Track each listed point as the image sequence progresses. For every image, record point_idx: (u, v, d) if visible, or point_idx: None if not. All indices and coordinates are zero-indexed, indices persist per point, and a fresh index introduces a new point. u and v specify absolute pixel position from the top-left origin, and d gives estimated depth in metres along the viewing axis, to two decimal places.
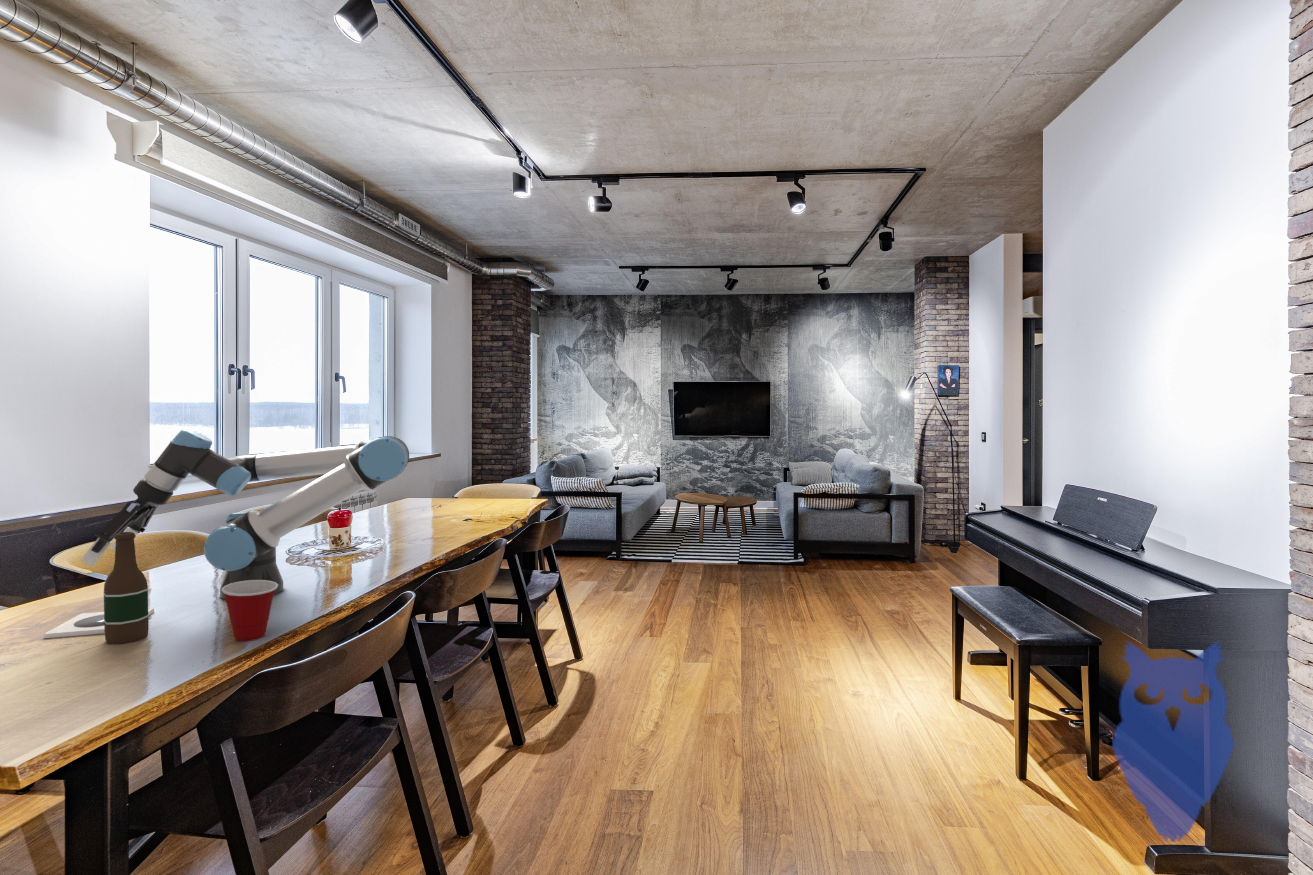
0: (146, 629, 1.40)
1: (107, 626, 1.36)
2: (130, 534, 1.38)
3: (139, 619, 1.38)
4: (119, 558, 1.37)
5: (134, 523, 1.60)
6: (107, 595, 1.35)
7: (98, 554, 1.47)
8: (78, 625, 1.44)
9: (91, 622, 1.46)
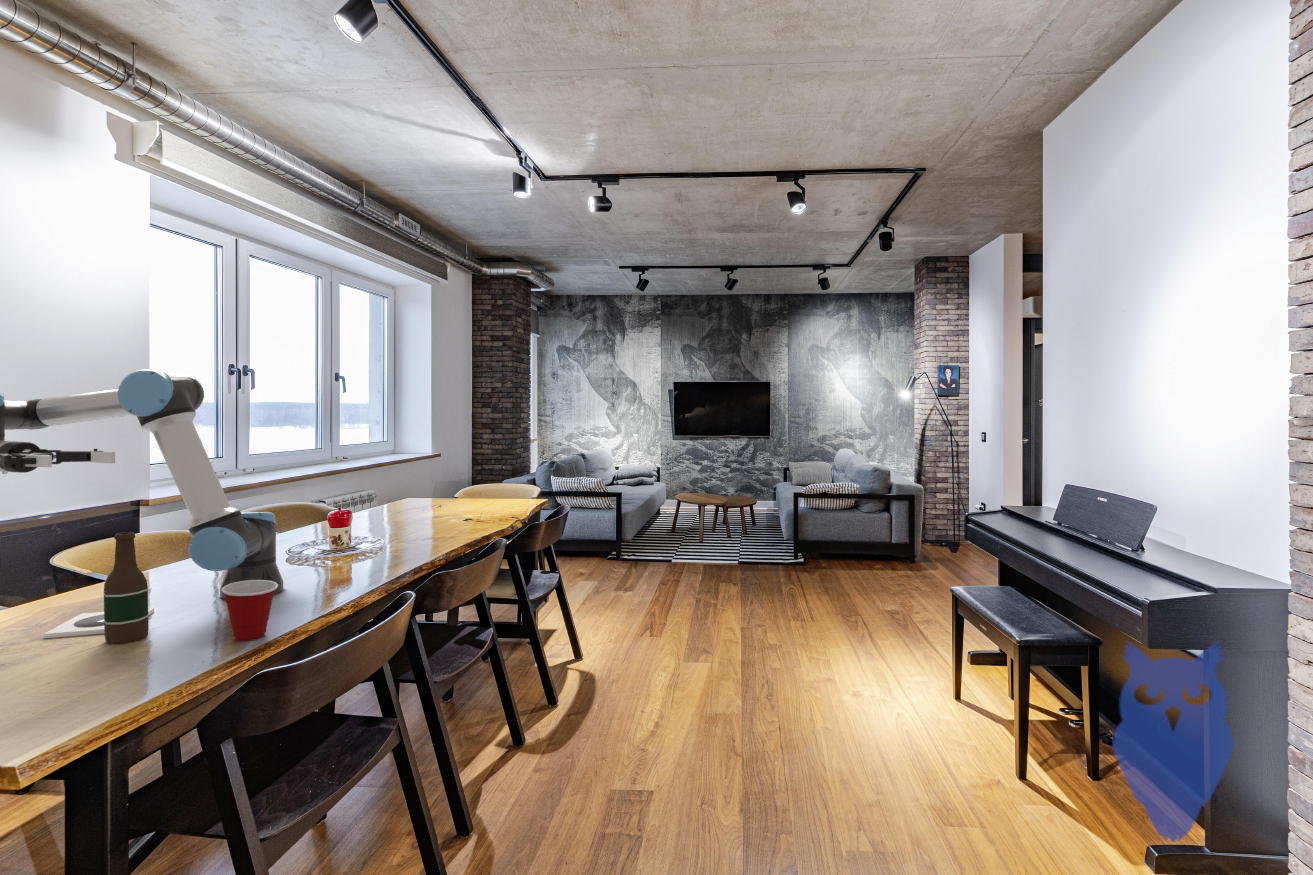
0: (146, 629, 1.40)
1: (107, 626, 1.36)
2: (130, 534, 1.38)
3: (139, 619, 1.38)
4: (119, 558, 1.37)
5: (83, 458, 1.54)
6: (107, 595, 1.35)
7: (37, 457, 1.40)
8: (78, 625, 1.44)
9: (91, 622, 1.46)
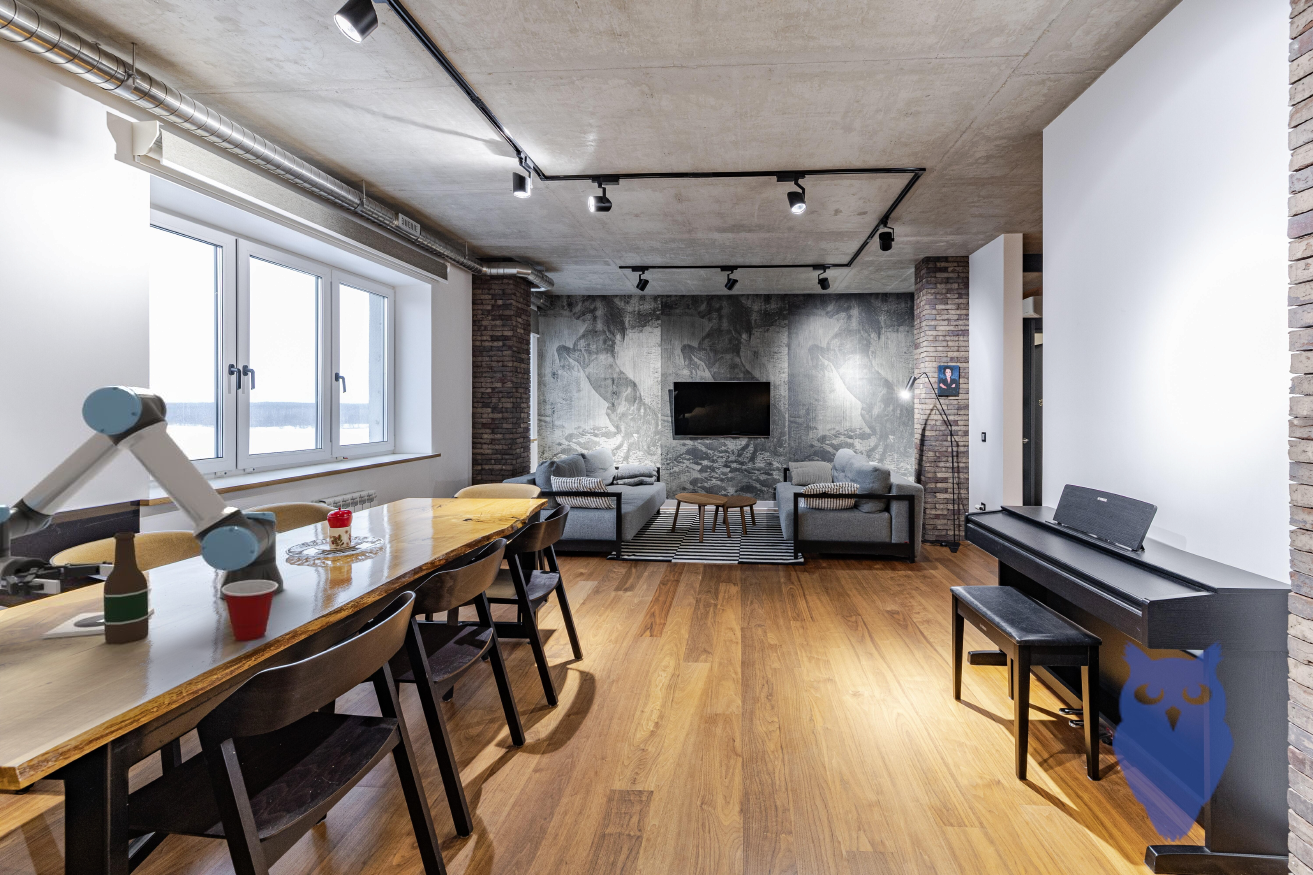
0: (146, 629, 1.40)
1: (107, 626, 1.36)
2: (130, 534, 1.38)
3: (139, 619, 1.38)
4: (119, 558, 1.37)
5: (92, 572, 1.48)
6: (107, 595, 1.35)
7: (45, 582, 1.34)
8: (78, 625, 1.44)
9: (91, 622, 1.46)
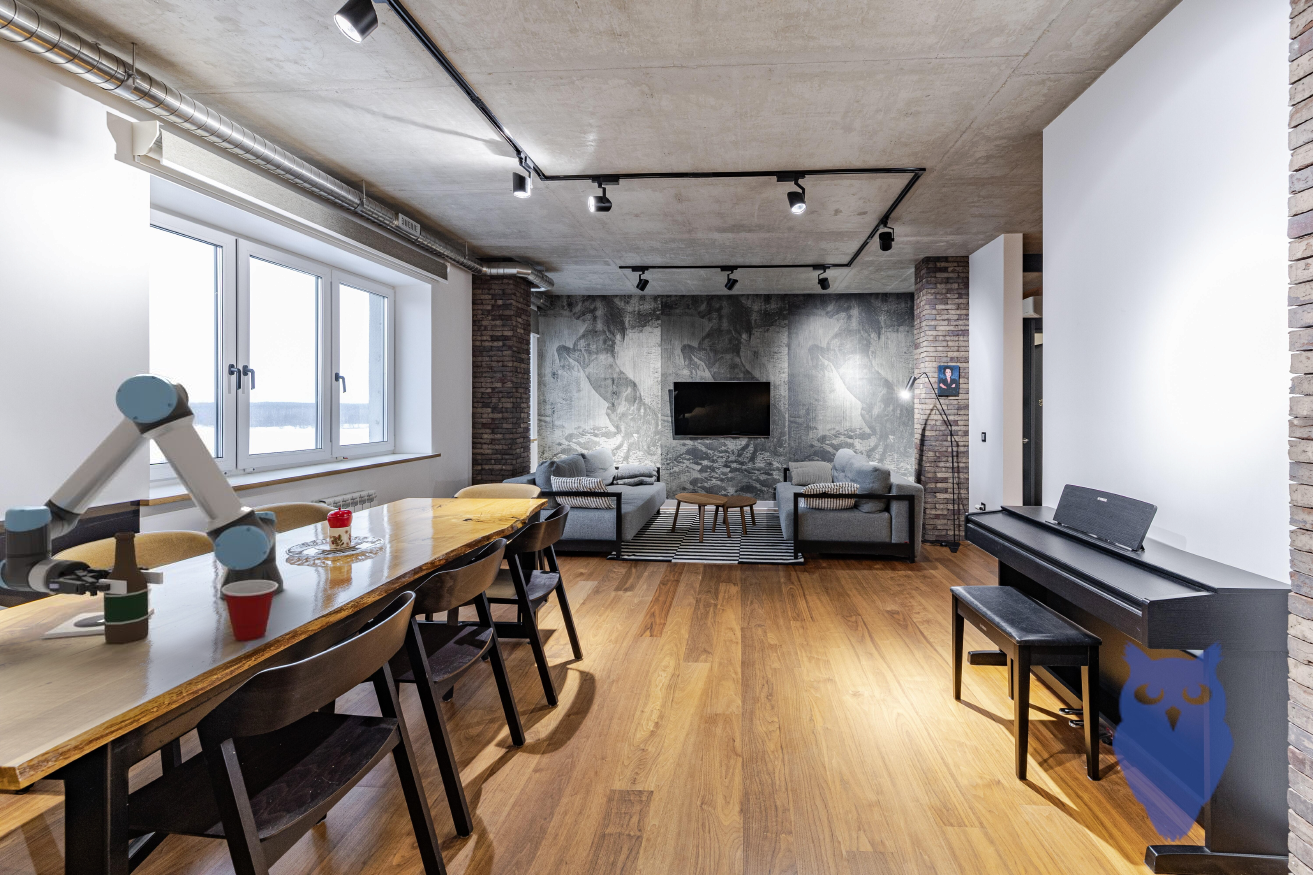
0: (146, 629, 1.40)
1: (107, 626, 1.36)
2: (130, 534, 1.38)
3: (139, 618, 1.38)
4: (119, 557, 1.37)
5: None
6: (107, 595, 1.35)
7: (112, 583, 1.34)
8: (78, 625, 1.44)
9: (91, 622, 1.46)
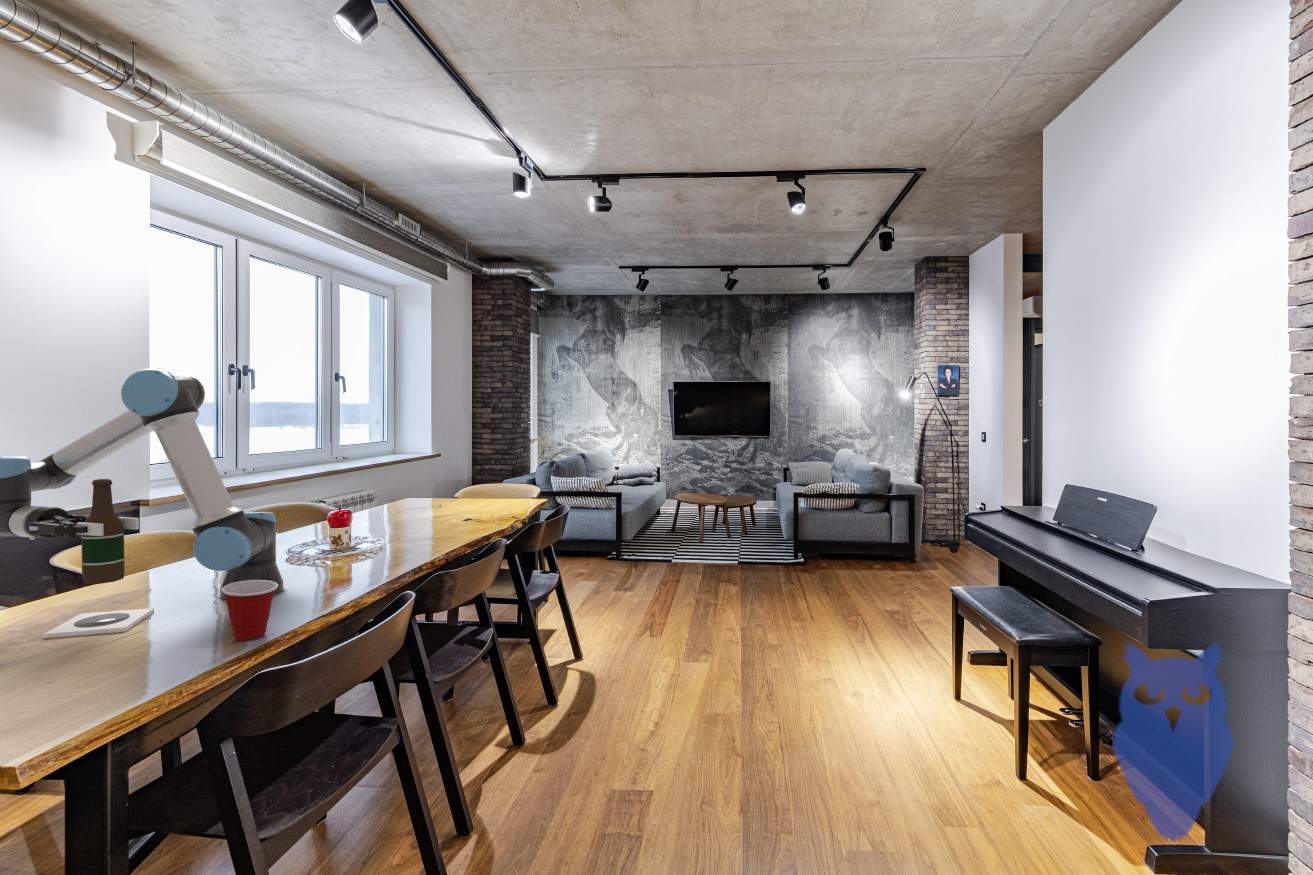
0: (122, 572, 1.48)
1: (84, 567, 1.43)
2: (107, 480, 1.46)
3: (115, 561, 1.46)
4: (96, 502, 1.44)
5: None
6: (85, 537, 1.43)
7: (89, 525, 1.42)
8: (78, 625, 1.44)
9: (91, 622, 1.46)
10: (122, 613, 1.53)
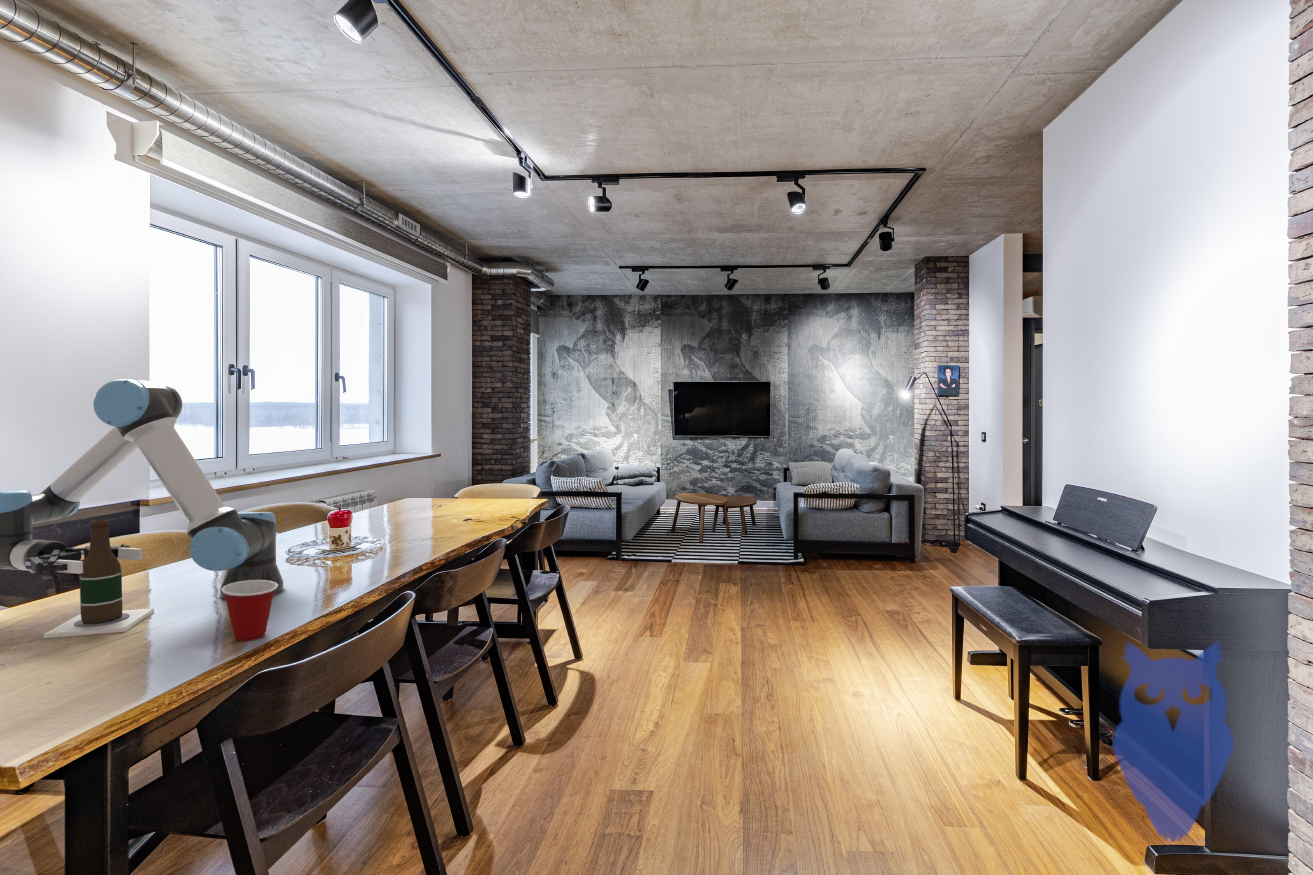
0: (120, 611, 1.49)
1: (82, 607, 1.45)
2: (104, 521, 1.47)
3: (113, 601, 1.47)
4: (93, 543, 1.46)
5: None
6: (82, 578, 1.44)
7: (68, 563, 1.41)
8: (78, 625, 1.44)
9: None
10: (122, 613, 1.53)
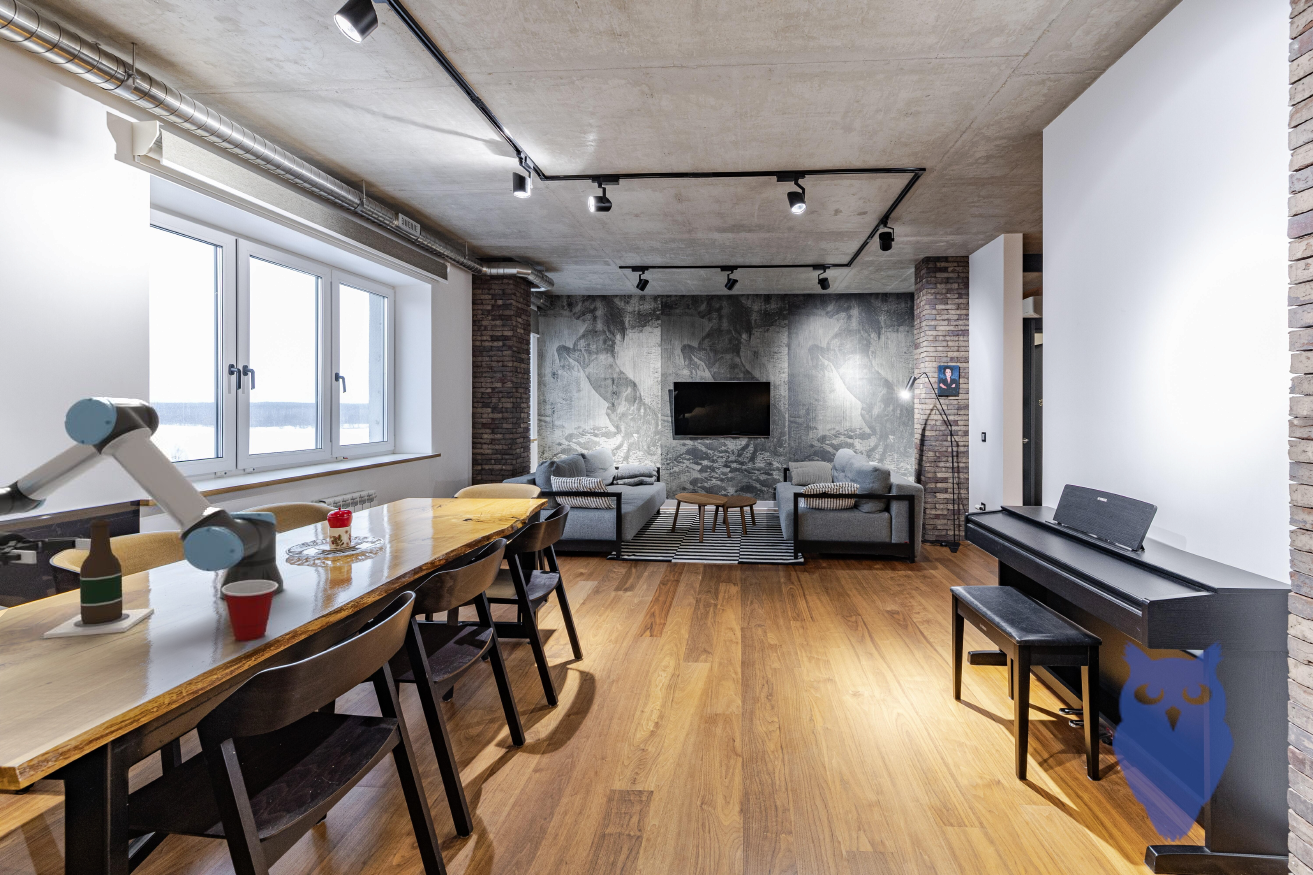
0: (120, 611, 1.49)
1: (83, 607, 1.45)
2: (105, 521, 1.47)
3: (113, 601, 1.47)
4: (94, 543, 1.46)
5: (68, 546, 1.57)
6: (83, 578, 1.44)
7: (22, 553, 1.43)
8: (78, 625, 1.44)
9: None
10: (122, 613, 1.53)
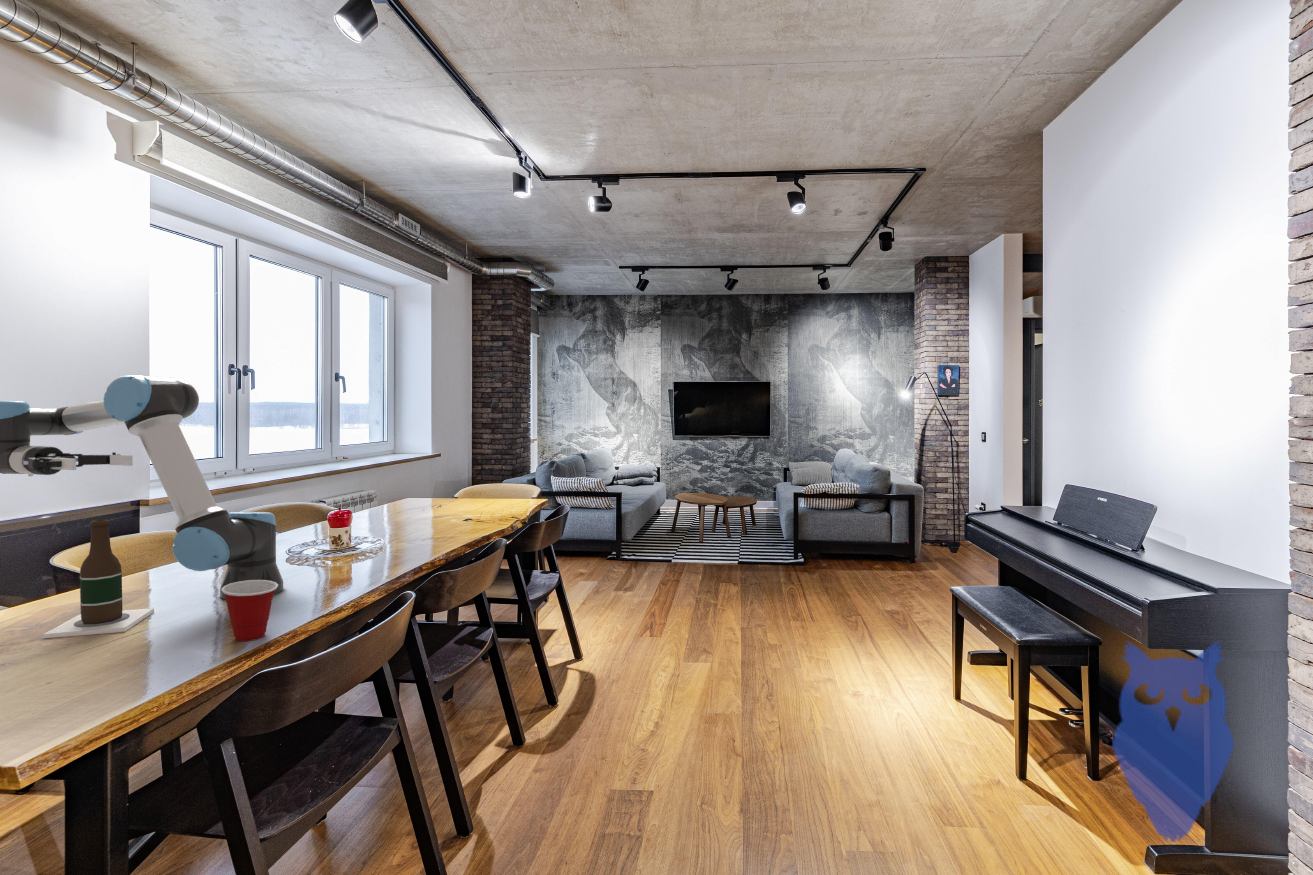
0: (120, 611, 1.49)
1: (83, 607, 1.45)
2: (105, 521, 1.47)
3: (113, 601, 1.47)
4: (94, 543, 1.46)
5: (103, 461, 1.67)
6: (83, 578, 1.44)
7: (63, 460, 1.53)
8: (78, 625, 1.44)
9: None
10: (122, 613, 1.53)
